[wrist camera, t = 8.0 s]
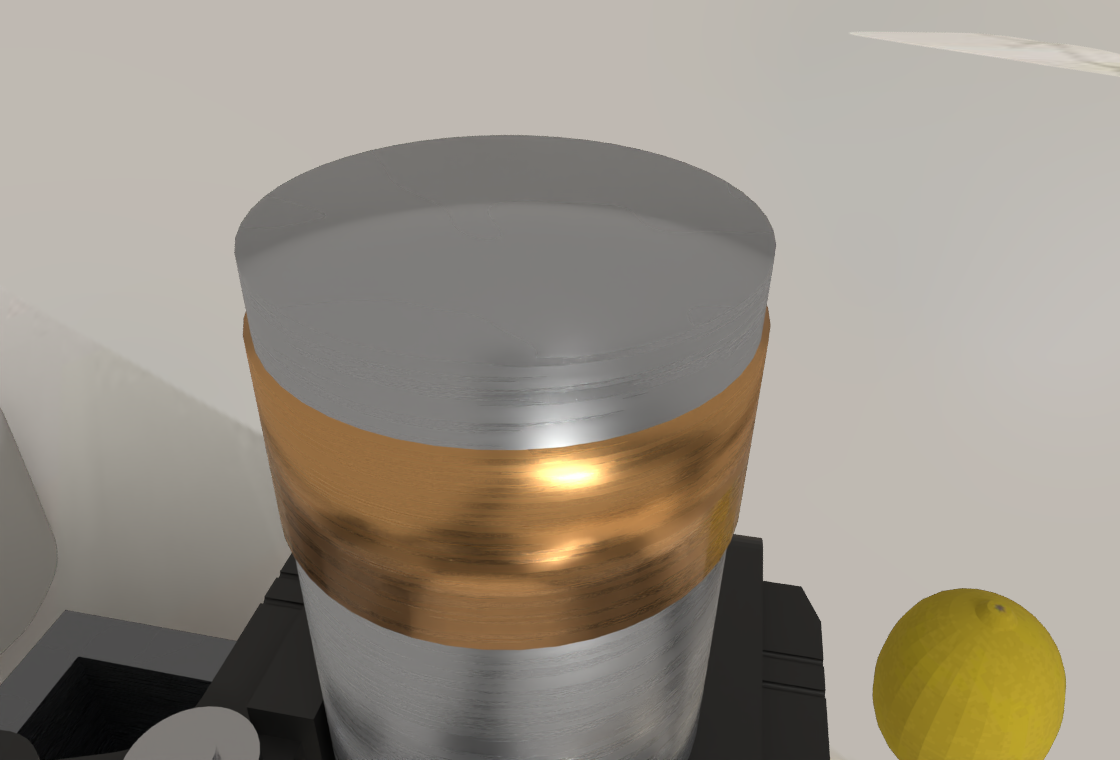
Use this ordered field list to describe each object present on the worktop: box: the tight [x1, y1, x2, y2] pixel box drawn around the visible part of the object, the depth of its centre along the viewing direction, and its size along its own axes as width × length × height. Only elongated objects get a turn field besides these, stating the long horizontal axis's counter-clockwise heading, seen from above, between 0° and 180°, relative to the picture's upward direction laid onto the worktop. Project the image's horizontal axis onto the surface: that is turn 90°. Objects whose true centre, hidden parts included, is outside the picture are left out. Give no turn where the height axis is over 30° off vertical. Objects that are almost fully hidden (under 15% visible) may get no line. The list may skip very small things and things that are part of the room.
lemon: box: [873, 588, 1066, 760], centre depth 29 cm, size 6×6×8 cm
